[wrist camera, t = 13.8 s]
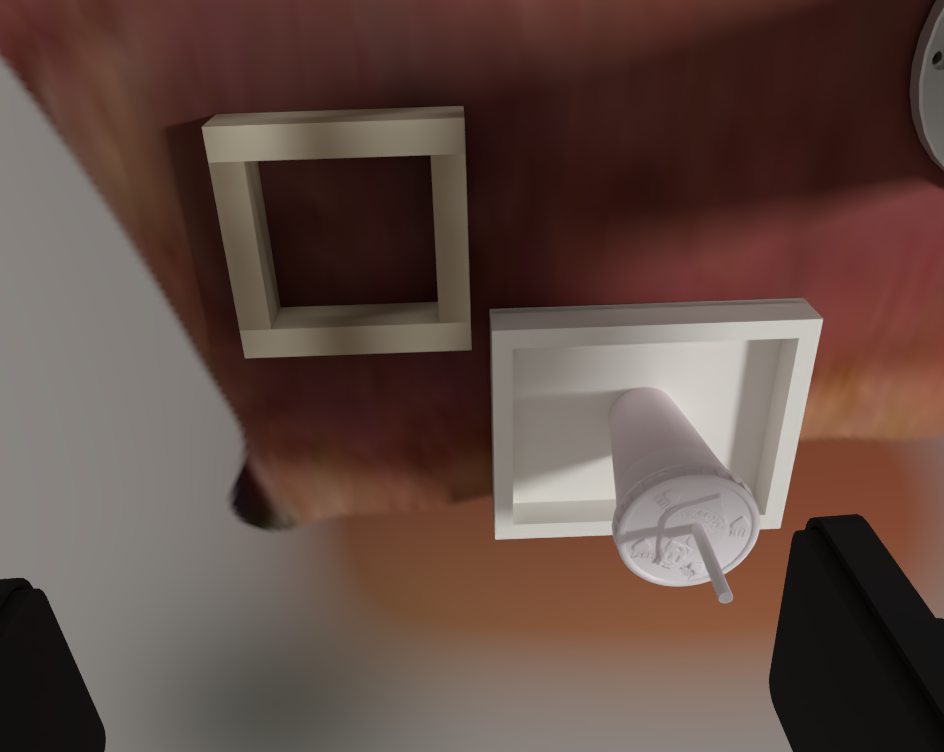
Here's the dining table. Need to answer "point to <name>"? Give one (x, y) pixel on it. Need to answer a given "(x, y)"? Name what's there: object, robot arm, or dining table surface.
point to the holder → (324, 137)
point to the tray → (634, 366)
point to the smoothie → (675, 497)
